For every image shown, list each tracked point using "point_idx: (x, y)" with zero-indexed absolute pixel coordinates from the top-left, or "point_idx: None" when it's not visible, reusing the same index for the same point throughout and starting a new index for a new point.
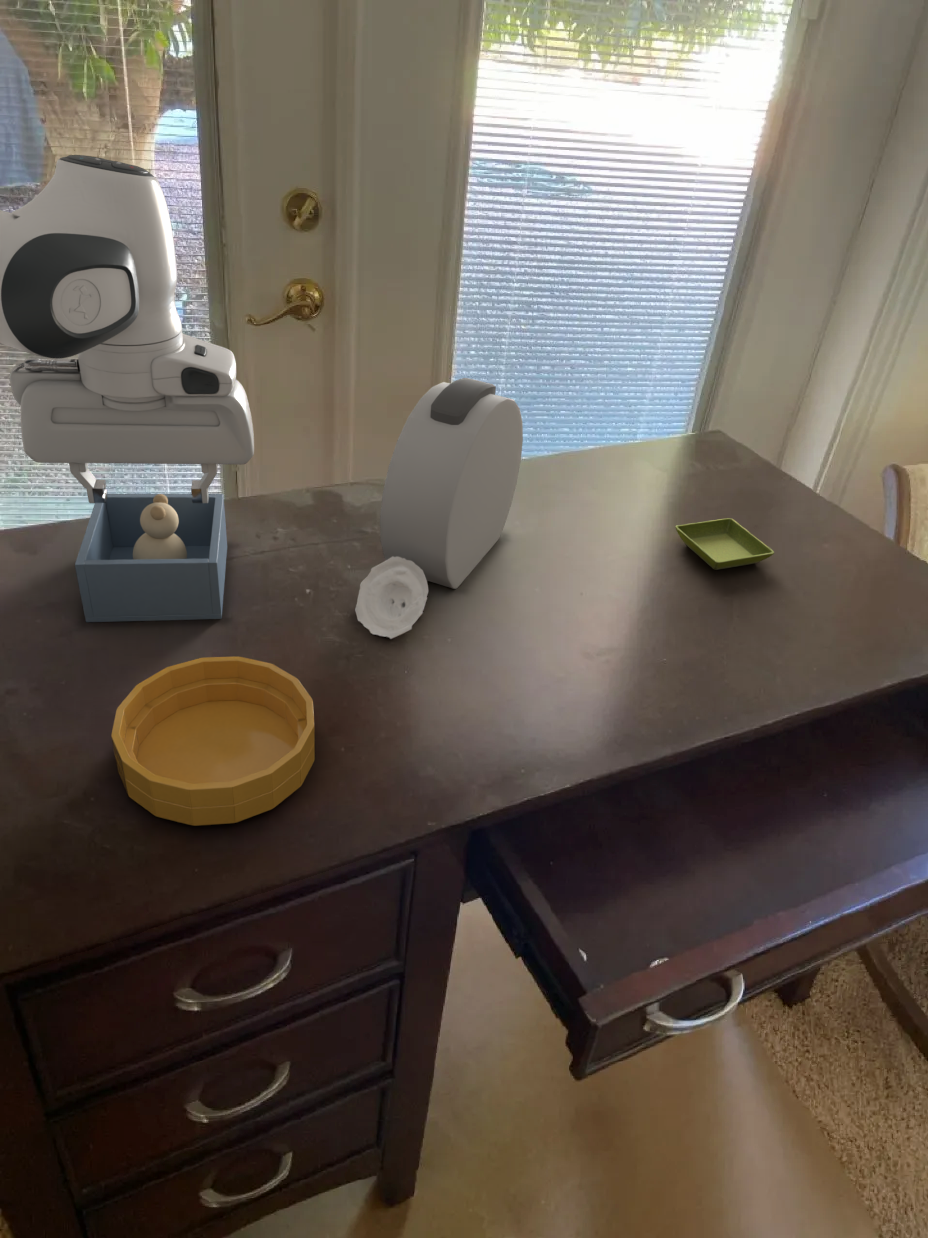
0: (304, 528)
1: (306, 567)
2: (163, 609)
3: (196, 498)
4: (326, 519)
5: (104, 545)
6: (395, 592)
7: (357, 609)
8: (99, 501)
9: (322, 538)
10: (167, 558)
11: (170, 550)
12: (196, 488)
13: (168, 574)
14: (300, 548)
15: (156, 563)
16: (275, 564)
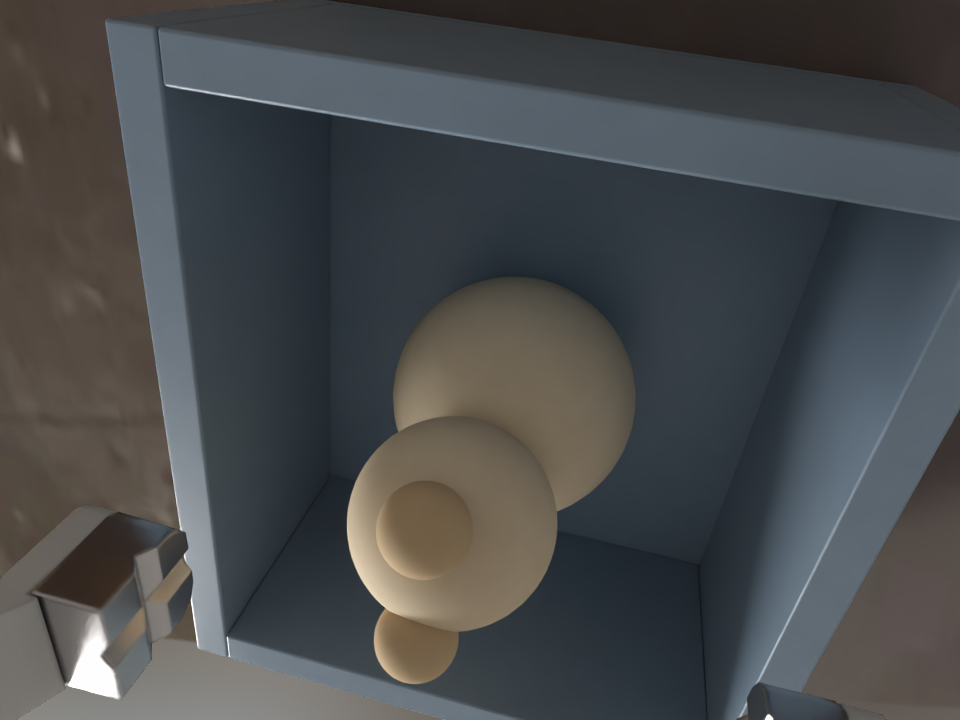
0: (95, 504)
1: (49, 298)
2: (539, 37)
3: (126, 543)
4: (43, 528)
5: (747, 528)
6: None
7: None
8: (806, 701)
9: (34, 442)
10: (468, 316)
11: (443, 353)
12: (62, 604)
13: (439, 53)
14: (88, 409)
15: (485, 82)
16: (151, 340)
